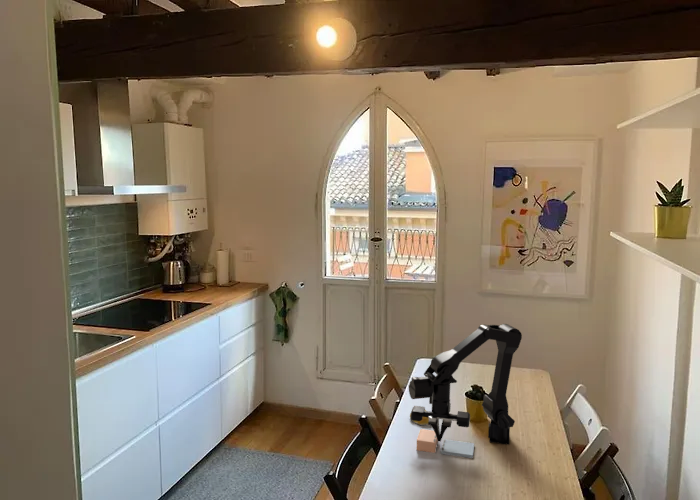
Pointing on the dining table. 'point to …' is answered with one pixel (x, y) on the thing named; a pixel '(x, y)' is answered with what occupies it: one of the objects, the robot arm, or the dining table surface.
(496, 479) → the dining table surface
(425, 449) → the stub
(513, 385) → the dining table surface
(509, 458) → the dining table surface
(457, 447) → the blue-grey flat panel
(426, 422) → the bread roll
